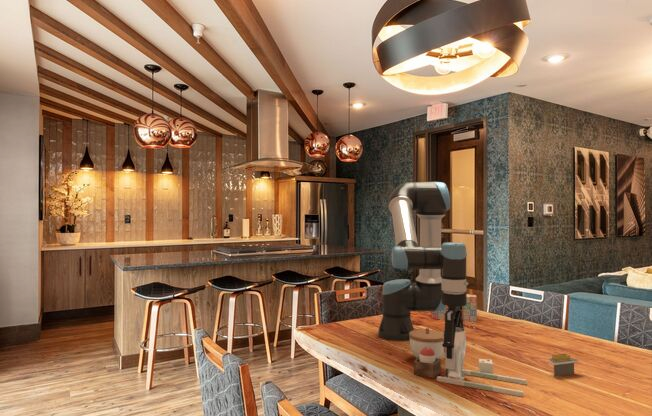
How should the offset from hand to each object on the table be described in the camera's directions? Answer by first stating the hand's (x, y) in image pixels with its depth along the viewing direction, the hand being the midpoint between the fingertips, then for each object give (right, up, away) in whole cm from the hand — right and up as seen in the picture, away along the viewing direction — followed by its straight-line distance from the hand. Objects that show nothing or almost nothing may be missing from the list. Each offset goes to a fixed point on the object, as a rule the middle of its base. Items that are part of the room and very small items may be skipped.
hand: (454, 363), depth 135 cm
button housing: (-7, -4, +4) cm, 10 cm away
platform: (+35, -5, +3) cm, 36 cm away
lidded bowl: (-4, -5, +17) cm, 18 cm away
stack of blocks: (+23, -7, +78) cm, 81 cm away
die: (+11, -5, +3) cm, 13 cm away
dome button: (-7, -3, +4) cm, 9 cm away
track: (+7, -4, -4) cm, 9 cm away
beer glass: (0, -5, 0) cm, 5 cm away
